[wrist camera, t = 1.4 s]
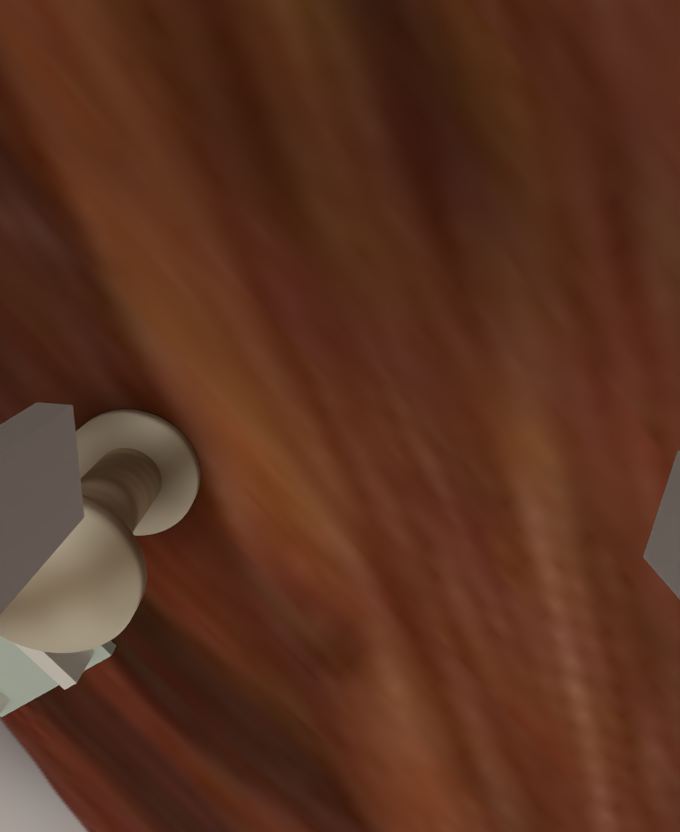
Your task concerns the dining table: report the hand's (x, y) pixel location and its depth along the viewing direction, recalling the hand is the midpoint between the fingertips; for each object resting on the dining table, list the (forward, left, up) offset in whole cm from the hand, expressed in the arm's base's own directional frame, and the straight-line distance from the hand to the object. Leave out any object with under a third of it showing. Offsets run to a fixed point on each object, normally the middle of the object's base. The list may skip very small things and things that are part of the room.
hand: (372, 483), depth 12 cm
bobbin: (+1, -19, -23) cm, 30 cm away
